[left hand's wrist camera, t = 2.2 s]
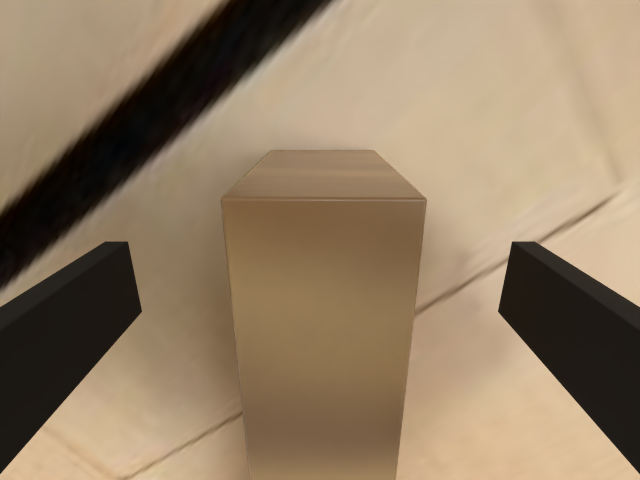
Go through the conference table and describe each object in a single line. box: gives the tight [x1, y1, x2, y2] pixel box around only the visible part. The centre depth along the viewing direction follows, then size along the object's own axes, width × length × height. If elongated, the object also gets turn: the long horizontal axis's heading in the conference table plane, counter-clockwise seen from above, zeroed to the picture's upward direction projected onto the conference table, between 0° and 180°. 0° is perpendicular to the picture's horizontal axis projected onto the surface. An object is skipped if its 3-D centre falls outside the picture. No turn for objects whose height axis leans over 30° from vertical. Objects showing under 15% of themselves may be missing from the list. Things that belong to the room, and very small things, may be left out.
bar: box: [221, 151, 427, 480], centre depth 15 cm, size 22×4×8 cm, turn 0°
